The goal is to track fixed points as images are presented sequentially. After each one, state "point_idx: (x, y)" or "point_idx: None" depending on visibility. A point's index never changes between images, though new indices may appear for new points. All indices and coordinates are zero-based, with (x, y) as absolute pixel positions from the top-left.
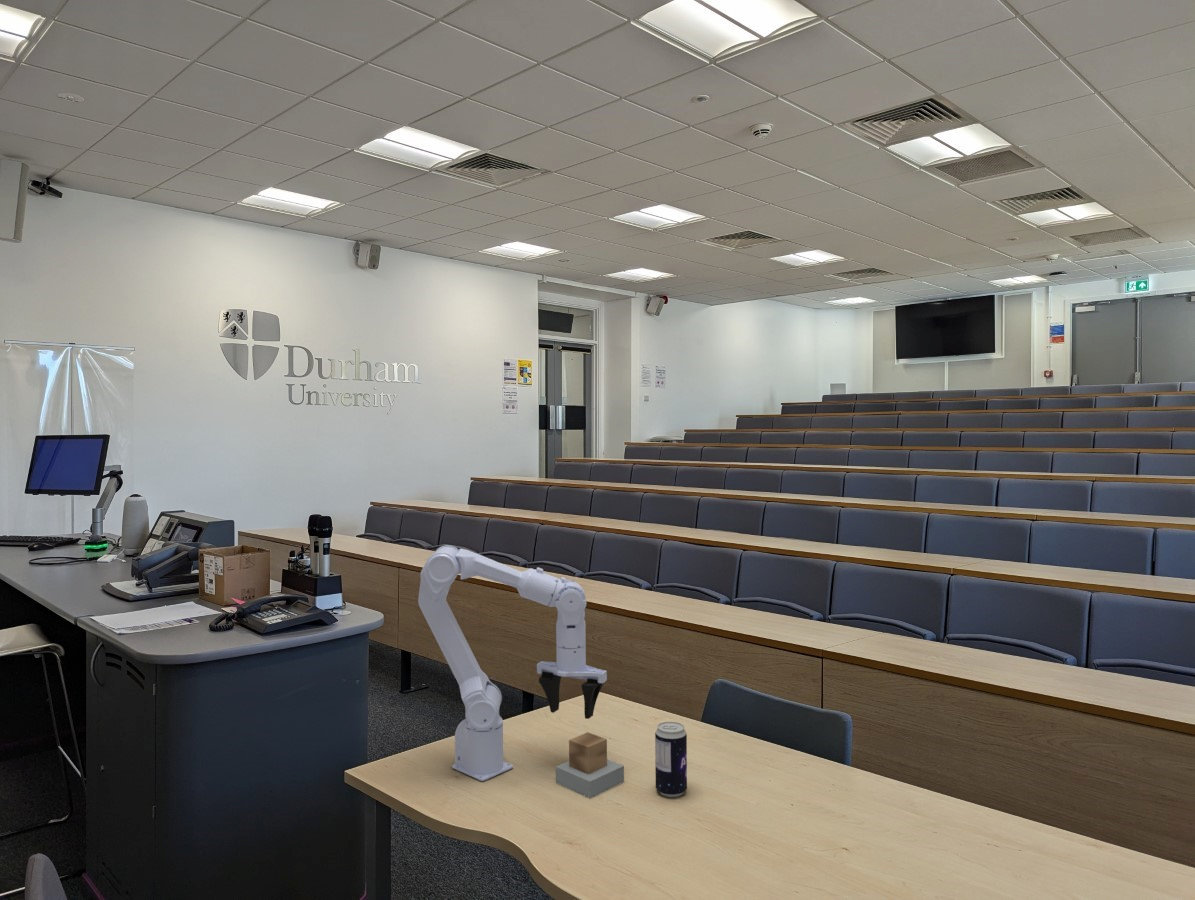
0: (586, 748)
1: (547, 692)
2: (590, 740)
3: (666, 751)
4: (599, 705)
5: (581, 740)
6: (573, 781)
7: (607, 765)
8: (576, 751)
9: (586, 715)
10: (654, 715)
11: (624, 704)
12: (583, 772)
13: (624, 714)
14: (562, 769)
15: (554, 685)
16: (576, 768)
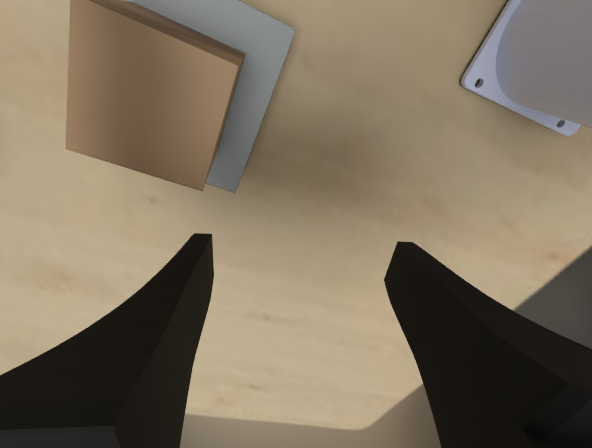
0: (95, 2)
1: (493, 311)
2: (127, 101)
3: None
4: (343, 405)
5: (172, 85)
6: None
7: None
8: (190, 38)
9: (195, 239)
10: (229, 407)
11: (301, 419)
12: (163, 15)
13: (284, 395)
14: (258, 11)
15: (466, 382)
16: (205, 35)
